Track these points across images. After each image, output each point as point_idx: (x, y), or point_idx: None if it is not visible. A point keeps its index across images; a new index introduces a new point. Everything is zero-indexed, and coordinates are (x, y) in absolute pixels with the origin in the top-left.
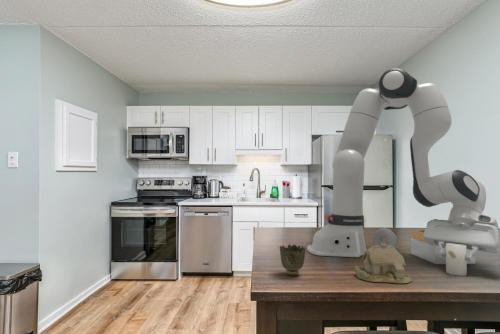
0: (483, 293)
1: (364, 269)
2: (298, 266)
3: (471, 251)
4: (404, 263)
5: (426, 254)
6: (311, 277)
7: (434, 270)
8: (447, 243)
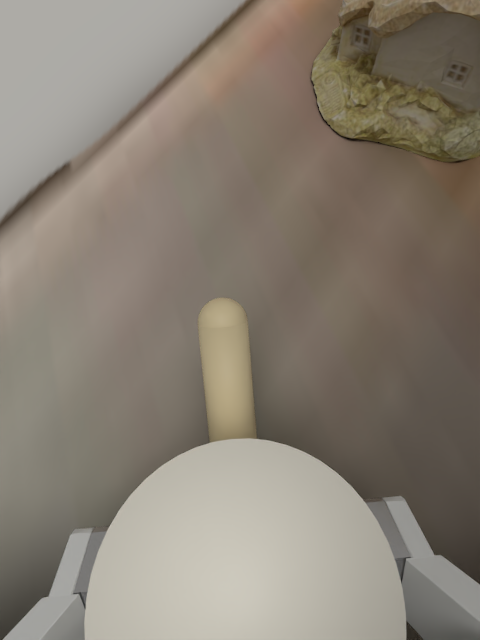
0: (13, 207)
1: None
2: None
3: (44, 625)
4: (374, 9)
5: None
6: None
7: (377, 457)
8: (381, 590)
